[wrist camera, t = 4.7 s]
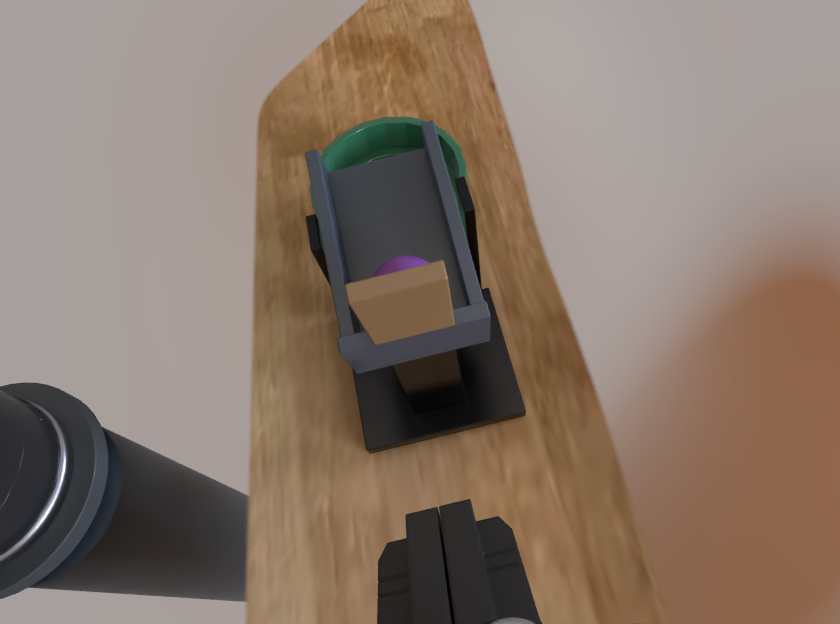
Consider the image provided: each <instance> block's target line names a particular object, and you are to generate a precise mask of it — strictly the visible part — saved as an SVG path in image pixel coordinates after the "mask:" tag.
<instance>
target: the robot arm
mask: <svg viewBox="0 0 840 624" xmlns="http://www.w3.org/2000/svg"><path fill="white" fill-rule="evenodd" d="M72 471H73V448H72V443H71V440H70V436H69V434H68V432H67V429H66V428H65V426H64V424H63V423H62V422H61V421H60V419H59V418H58V417H57V416H56V415H55V414H53V413H52V412H51V411H49V410H47V409H46V408H44V407H42V406H39V405H37V404H35V403H33V402H30V401H28V400H24V399H21V398H19V397H17V396H14V395H12V394H8V393H6V392H4V391H1V390H0V566H2V565H4V564H6V563H8V562H10V561H12V560H13V559H15V558H16V557H18V556H19V555H21V554H22V553H23V552H25V551H26V550H27V549H28V548H29V547H31V546H32V545H33V544H34V543H35V542H36V541H37V540H38V539H39V538H40V537H41V535H42V534H43V533H44V532H45V531H46V530H47V528H48V527H49V526H50V524H51V523H52V521H53V520H54V518H55V517H56V515H57V513H58V512H59V510H60V508H61V506H62V504H63V502H64V500H65V497H66V495H67V492H68V489H69V486H70V482H71V477H72ZM439 509H440V514H439V511H438V508H437V507H435V508H431V509H427V510H422V511H418V512H414V513H410V514H406V535H407V538H406V539H402V540H397V541H393V542H389V543H387V545H386V547H385V549H384V551H383V553H382V555H381V557H380V559H379V561H378V582H379V583H378V614H377V624H542V622H541V621H540V618H539V616H538V612H537V609H536V606H535V602H534V599H533V596H532V593H531V589H530V586H529V583H528V580H527V576H526V573H525V570H524V566H523V564H522V560H521V557H520V553H519V550H518V547H517V543H516V540H515V537H514V534H513V530H512V528H510V527H509V526H508V525H507V524H506V523H505V522H504V521H503V520H502V519H501V518H500V517H499V516H497V517H493V518H489V519H485V520H481V521H476V520H475V516H474V512H473V508H472V504H471V500H470V499H468V500H464V501H460V502H455V503H451V504H447V505H443V506H439ZM440 517H441V518H440Z"/></svg>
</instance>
